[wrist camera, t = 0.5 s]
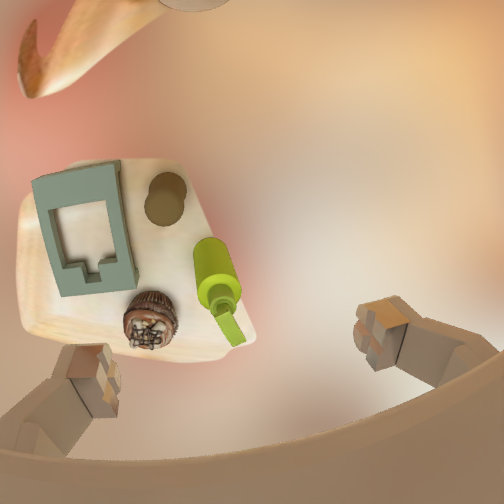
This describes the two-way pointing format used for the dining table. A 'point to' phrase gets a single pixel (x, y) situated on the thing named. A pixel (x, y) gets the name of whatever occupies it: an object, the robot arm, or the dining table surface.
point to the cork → (165, 199)
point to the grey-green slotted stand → (108, 188)
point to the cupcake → (150, 321)
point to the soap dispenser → (218, 286)
